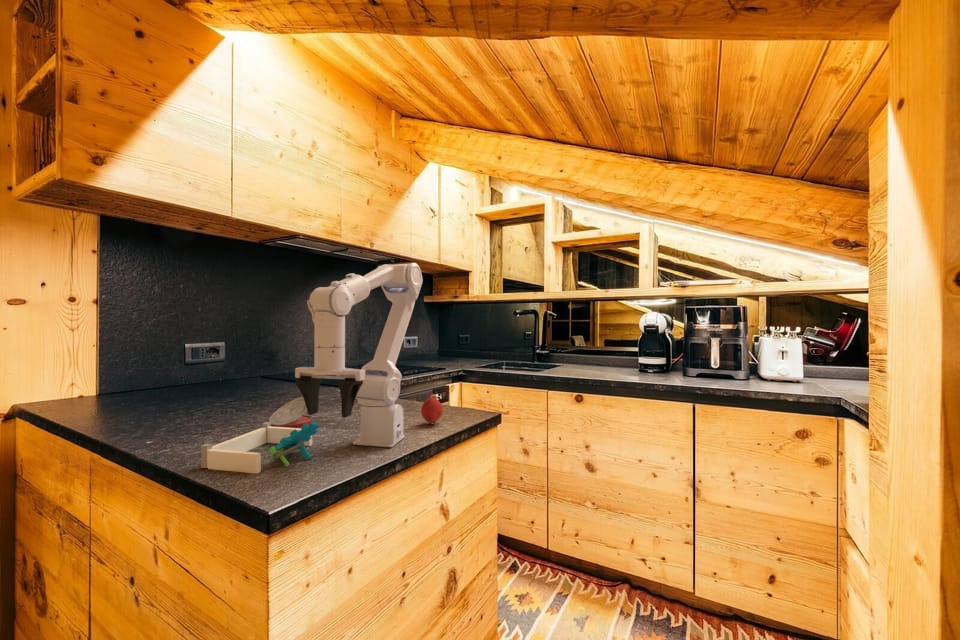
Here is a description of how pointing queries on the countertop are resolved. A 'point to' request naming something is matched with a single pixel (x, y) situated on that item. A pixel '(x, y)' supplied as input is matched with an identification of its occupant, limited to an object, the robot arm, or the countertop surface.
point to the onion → (432, 409)
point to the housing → (243, 449)
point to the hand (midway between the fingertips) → (329, 414)
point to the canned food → (291, 415)
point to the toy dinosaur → (294, 443)
